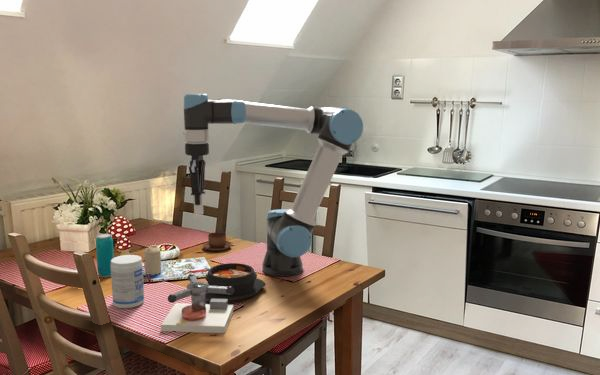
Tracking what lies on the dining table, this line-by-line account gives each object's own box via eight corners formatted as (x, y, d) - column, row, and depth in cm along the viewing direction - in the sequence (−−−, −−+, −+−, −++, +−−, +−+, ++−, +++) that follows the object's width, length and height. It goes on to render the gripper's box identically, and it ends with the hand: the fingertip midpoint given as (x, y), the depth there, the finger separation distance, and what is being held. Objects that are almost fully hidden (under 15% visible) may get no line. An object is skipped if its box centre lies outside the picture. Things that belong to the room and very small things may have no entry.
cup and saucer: (208, 243, 235) (207, 230, 233) (234, 245, 233) (234, 231, 232) (199, 252, 223) (198, 237, 222) (227, 253, 221) (227, 239, 220)
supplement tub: (143, 308, 167) (141, 263, 164) (111, 310, 164) (108, 265, 162) (145, 296, 176) (143, 253, 173) (114, 298, 174) (112, 255, 171)
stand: (233, 310, 165) (233, 297, 164) (224, 333, 150) (224, 318, 149) (175, 309, 166) (175, 295, 165) (160, 331, 151) (160, 316, 150)
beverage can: (110, 271, 198) (108, 232, 196) (117, 275, 194) (115, 235, 192) (95, 275, 194) (92, 235, 192) (102, 279, 190) (99, 238, 188)
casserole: (242, 277, 194) (241, 255, 192) (278, 291, 181) (278, 267, 180) (183, 296, 176) (182, 272, 174) (219, 313, 163) (218, 287, 162)
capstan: (192, 299, 168) (191, 272, 166) (236, 315, 157) (235, 286, 155) (148, 316, 155) (147, 287, 153) (192, 335, 144) (191, 304, 142)
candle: (150, 276, 194) (148, 249, 192) (143, 272, 198) (141, 246, 196) (163, 273, 197) (162, 247, 195) (157, 269, 201) (155, 243, 200)
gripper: (190, 140, 179) (192, 209, 184) (179, 144, 166) (182, 218, 171) (212, 140, 179) (214, 209, 183) (203, 144, 166) (205, 219, 170)
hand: (198, 213), depth 177 cm, fingers closed
